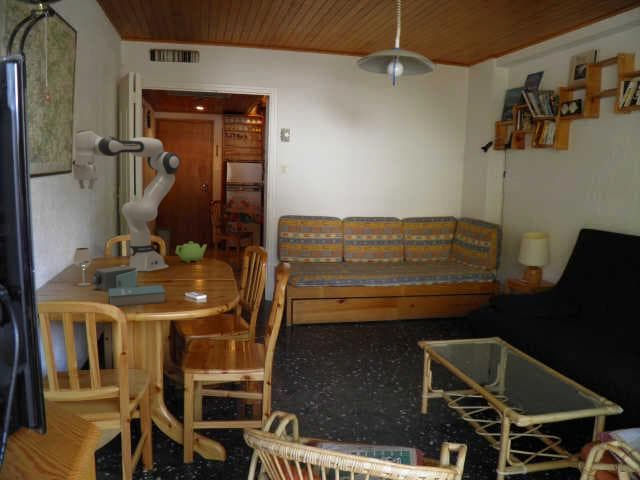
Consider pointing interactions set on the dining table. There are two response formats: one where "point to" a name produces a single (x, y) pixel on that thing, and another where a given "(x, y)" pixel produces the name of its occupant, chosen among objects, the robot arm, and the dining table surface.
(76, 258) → the wineglass
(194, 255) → the teapot
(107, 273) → the housing
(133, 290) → the book
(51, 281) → the dining table surface
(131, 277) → the side door
